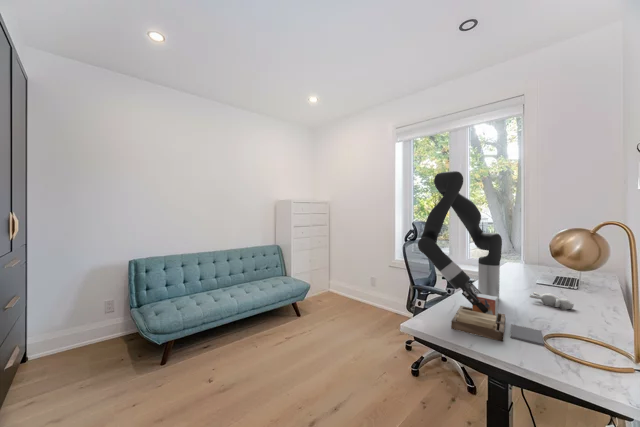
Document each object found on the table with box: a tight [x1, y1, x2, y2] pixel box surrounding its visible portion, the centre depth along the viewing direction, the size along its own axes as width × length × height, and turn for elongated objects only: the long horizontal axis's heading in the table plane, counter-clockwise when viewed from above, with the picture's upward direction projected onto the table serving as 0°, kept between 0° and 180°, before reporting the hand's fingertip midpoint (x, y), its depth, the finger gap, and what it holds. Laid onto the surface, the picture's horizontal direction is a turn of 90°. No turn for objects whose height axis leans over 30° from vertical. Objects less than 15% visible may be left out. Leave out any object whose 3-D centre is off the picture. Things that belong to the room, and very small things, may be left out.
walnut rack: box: [450, 305, 506, 342], centre depth 103 cm, size 20×16×3 cm
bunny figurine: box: [529, 291, 575, 311], centre depth 125 cm, size 10×5×15 cm
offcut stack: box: [457, 309, 497, 330], centre depth 99 cm, size 6×12×6 cm, turn 53°
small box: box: [471, 293, 499, 322], centre depth 106 cm, size 8×6×10 cm
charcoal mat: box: [510, 323, 545, 346], centre depth 95 cm, size 12×9×1 cm
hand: (487, 309), depth 105 cm, fingers closed on small box, 6 cm apart
